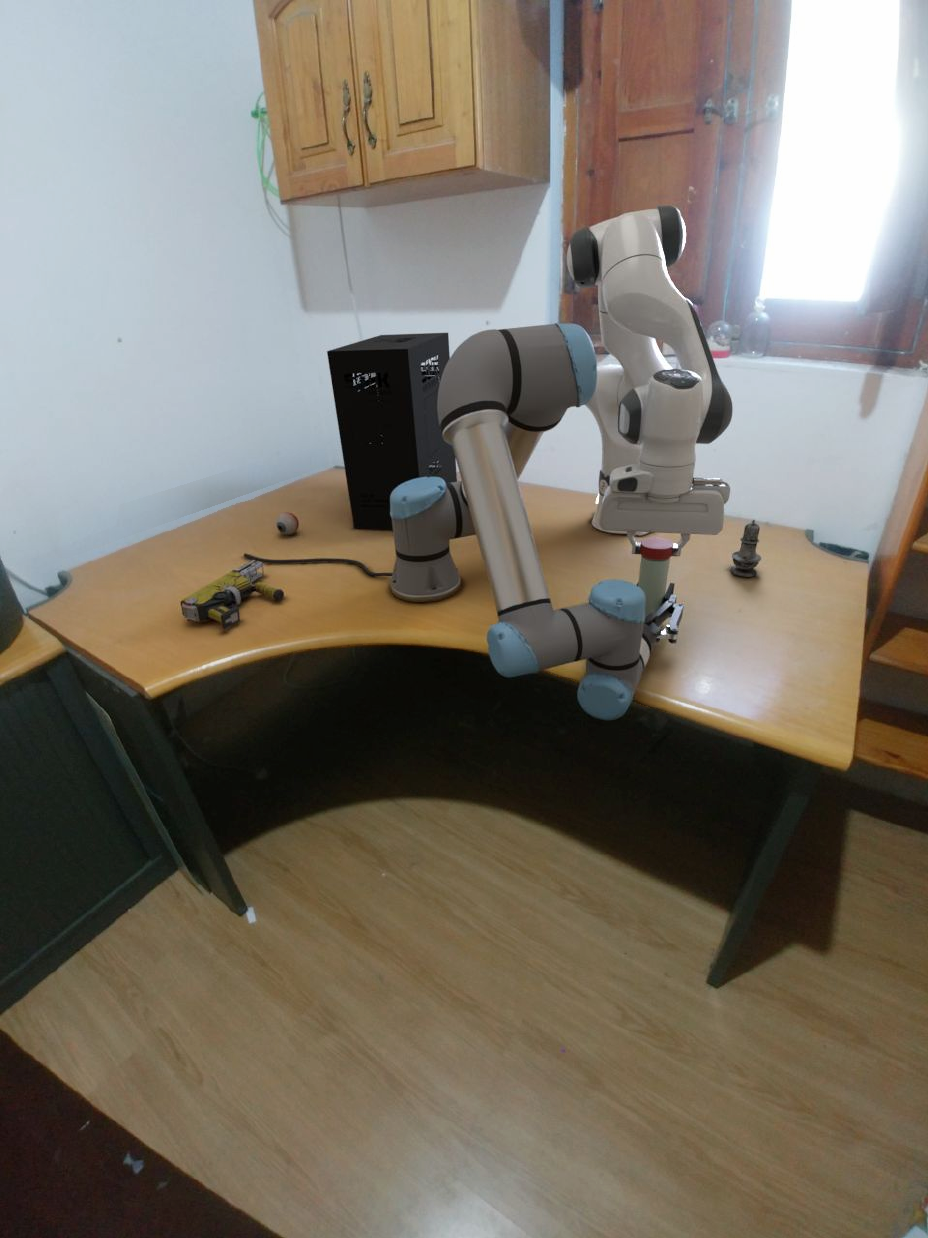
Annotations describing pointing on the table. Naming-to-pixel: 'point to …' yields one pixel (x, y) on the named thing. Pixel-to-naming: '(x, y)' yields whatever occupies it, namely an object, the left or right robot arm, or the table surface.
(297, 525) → the eyeball
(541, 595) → the left robot arm
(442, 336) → the black computer case
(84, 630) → the table surface
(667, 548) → the lid
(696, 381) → the right robot arm
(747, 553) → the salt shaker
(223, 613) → the toy gun
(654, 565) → the jar
